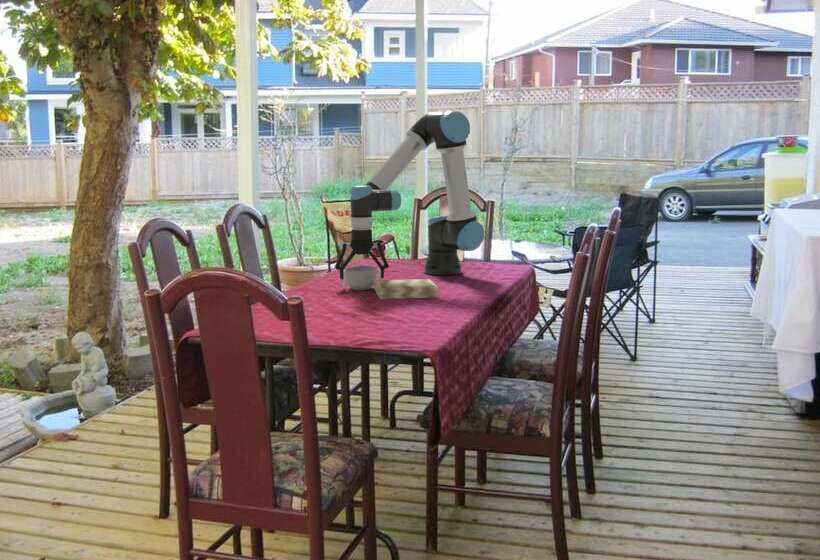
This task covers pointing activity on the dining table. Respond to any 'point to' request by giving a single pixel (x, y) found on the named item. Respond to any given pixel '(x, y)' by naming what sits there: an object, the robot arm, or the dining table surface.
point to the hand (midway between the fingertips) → (362, 287)
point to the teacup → (361, 277)
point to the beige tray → (406, 289)
